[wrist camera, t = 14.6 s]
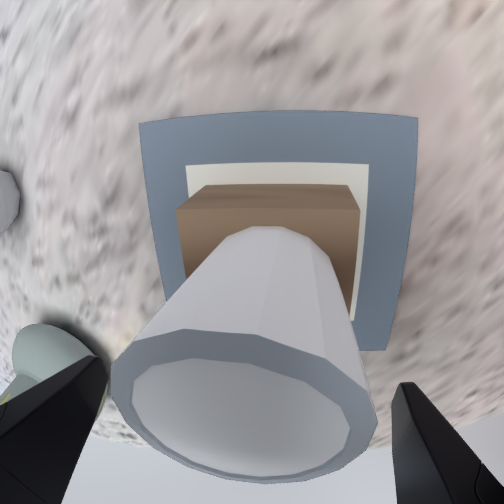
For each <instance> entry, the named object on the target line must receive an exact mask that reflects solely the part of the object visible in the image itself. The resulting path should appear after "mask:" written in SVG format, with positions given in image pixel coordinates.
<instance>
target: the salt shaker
mask: <svg viewBox="0 0 504 504" xmlns="http://www.w3.org/2000/svg"><path fill="white" fill-rule="evenodd" d="M19 202H20V191H19V189H18V187H17V185H16V183H15V180H14V178H13V176H12V173H9V172H5V171H2V170H0V236H1V235H2V234H3V233H4V232H5V231H6V230H7V229H8V228H9V226H10V225H11V223H12V222H13V220H14V219H15V218H16V216H17V215H18V214H19Z"/></svg>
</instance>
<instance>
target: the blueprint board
mask: <svg viewBox="0 0 504 504" xmlns="http://www.w3.org/2000/svg"><path fill="white" fill-rule="evenodd" d="M139 132H140V142H141V151H142V160H143V168H144V176H145V184H146V191H147V198H148V204H149V211H150V217H151V223H152V229H153V235H154V241H155V247H156V252H157V257H158V263H159V268H160V273H161V278H162V283H163V287H164V292H165V297H166V301H168V300H169V299H170V298H171V297H172V295H173V294H174V293H175V292H176V291H177V290H178V289H179V288H180V287H181V285H182V284H183V283H184V282H185V281H186V275H185V269H184V263H183V257H182V250H181V244H180V237H179V230H178V223H177V216H176V209H177V208H178V207H179V206H180V205H181V204H183V203H184V202H185V201H186V200H188V199H189V198H190V197H191V196H193V195H194V194H195V193H196V192H197V191H199V190H200V189H201V188H203V187H204V186H205V185H225V184H335V185H348V187H349V189H350V191H351V193H352V195H353V196H354V198H355V200H356V202H357V204H358V206H359V208H360V224H359V237H358V248H357V259H356V268H355V278H354V286H353V294H352V302H351V309H350V321H351V324H352V327H353V331H354V334H355V338H356V341H357V345H358V348H359V351H375V350H386V347H387V343H388V339H389V335H390V331H391V327H392V323H393V319H394V314H395V310H396V306H397V301H398V296H399V291H400V287H401V281H402V276H403V271H404V265H405V259H406V253H407V247H408V240H409V233H410V226H411V218H412V209H413V200H414V190H415V178H416V163H417V143H418V118H416V117H408V116H398V115H388V114H376V113H362V112H344V111H255V112H237V113H222V114H210V115H200V116H190V117H181V118H173V119H166V120H158V121H152V122H145V123H139Z"/></svg>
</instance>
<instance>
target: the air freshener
mask: <svg viewBox="0 0 504 504" xmlns="http://www.w3.org/2000/svg"><path fill="white" fill-rule="evenodd" d="M87 355H94V354H93V353H92V352H91V351H90V350H89V349H88V348H87V347H86V346H85V345H84V344H83V343H82V342H80V341H79V340H78V339H77V338H75V337H74V336H72V335H71V334H69V333H67V332H66V331H64V330H62V329H60V328H57V327H54V326H51V325H47V324H32V325H28V326H26V327H24V328H23V329H21V330H20V332H19V333H18V335H17V336H16V338H15V341H14V345H13V350H12V363H13V368H14V371H15V374H16V376H17V377H16V378H15V379H14V380H13V381H12V383H11V384H10V385H9V386H8V388H7V389H6V390H5V391H4V393H3V394H2V395H1V396H0V405H1V404H3V403H5V402H8V401H9V400H10V399H12V398H14V397H16V396H17V395H19V394H21V393H23V392H24V391H26V390H28V389H30V388H31V387H33V386H35V385H37V384H38V383H40V382H42V381H44V380H45V379H47V378H49V377H51V376H52V375H54V374H56V373H58V372H59V371H61V370H63V369H65V368H66V367H68V366H70V365H72V364H73V363H75V362H77V361H78V360H80V359H82V358H84V357H85V356H87ZM94 356H95V355H94ZM107 388H108V383H107V386H106V389H105V392H104V395H103V398H102V401H101V404H100V407H99V411H98V413H97V416H96V419H95V421H96V420H97V418H98V417H99V415H100V413H101V411H102V408H103V405H104V402H105V399H106V394H107ZM95 421H94V422H95Z"/></svg>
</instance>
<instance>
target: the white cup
mask: <svg viewBox="0 0 504 504" xmlns="http://www.w3.org/2000/svg"><path fill="white" fill-rule="evenodd" d="M111 396H112V398H113V400H114V402H115V404H116V406H117V407H118V409H119V411H120V413H121V415H122V416H123V418H124V420H125V422H126V423H127V424H128V425H129V426H130V427H131V428H132V429H133V430H134V431H135V432H136V433H137V434H139V435H140V436H141V437H142V438H143V439H144V440H145V441H146V442H147V443H148V444H150V445H151V446H152V447H153V448H155V449H156V450H158V451H160V452H161V453H163V454H165V455H167V456H168V457H170V458H172V459H174V460H176V461H177V462H179V463H181V464H183V465H185V466H187V467H190V468H192V469H195V470H198V471H201V472H204V473H208V474H210V475H213V476H217V477H220V478H223V479H228V480H235V481H243V482H251V483H260V484H276V483H289V482H299V481H307V480H310V479H313V478H316V477H319V476H322V475H326V474H329V473H331V472H334V471H337V470H340V469H341V468H343V467H344V466H345V465H347V464H348V463H350V462H351V461H352V460H354V459H355V458H356V457H358V456H359V455H360V454H362V453H363V452H364V451H366V449H367V447H368V445H369V442H370V440H371V438H372V436H373V433H374V431H375V429H376V426H377V424H378V422H377V417H376V413H375V409H374V405H373V401H372V397H371V393H370V389H369V385H368V381H367V377H366V374H365V370H364V366H363V362H362V359H361V355H360V352H359V348H358V345H357V341H356V338H355V334H354V331H353V327H352V324H351V321H350V317H349V314H348V311H347V307H346V304H345V301H344V298H343V295H342V291H341V288H340V285H339V282H338V279H337V277H336V274H335V271H334V269H333V266H332V264H331V261H330V258H329V256H328V255H327V254H326V253H325V252H324V251H322V250H321V249H320V248H319V247H318V246H317V245H316V244H315V243H314V242H313V241H312V240H311V239H310V238H309V237H307V236H304V235H302V234H299V233H297V232H294V231H292V230H289V229H287V228H284V227H280V226H252V227H249V228H247V229H244V230H242V231H239V232H237V233H234V234H232V235H229V236H227V237H226V238H225V239H224V240H223V241H222V242H221V243H220V244H219V245H218V246H217V247H216V248H215V249H214V251H213V252H212V253H211V254H210V255H209V256H208V257H207V258H206V259H205V260H204V261H203V262H202V263H201V265H200V266H199V267H198V268H197V269H196V270H195V271H194V272H193V273H192V274H191V276H190V277H189V278H188V279H187V280H186V281H185V282H184V283H183V284H182V285H181V287H180V288H179V289H178V290H177V291H176V292H175V293H174V294H173V295H172V297H171V298H170V299H169V300H168V301H167V302H166V303H165V304H164V306H163V307H162V308H161V309H160V310H159V311H158V312H157V313H156V315H155V316H154V317H153V318H152V319H151V320H150V321H149V322H148V324H147V325H146V326H145V327H144V328H143V329H142V330H141V332H140V333H139V334H138V335H137V336H136V337H135V338H134V340H133V341H132V342H131V343H130V344H129V345H128V346H127V348H126V349H125V350H124V351H123V352H122V353H121V355H120V356H119V357H118V358H117V359H116V360H115V361H114V363H113V364H112V365H111Z"/></svg>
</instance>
